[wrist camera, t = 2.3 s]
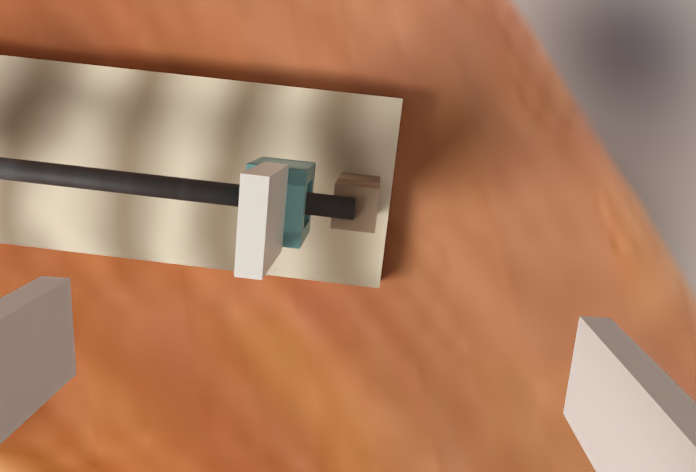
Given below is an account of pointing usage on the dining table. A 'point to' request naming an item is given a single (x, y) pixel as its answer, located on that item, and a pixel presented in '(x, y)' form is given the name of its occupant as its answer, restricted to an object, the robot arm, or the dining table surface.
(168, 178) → the cord rig
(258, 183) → the white slab teal box
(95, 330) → the dining table surface
